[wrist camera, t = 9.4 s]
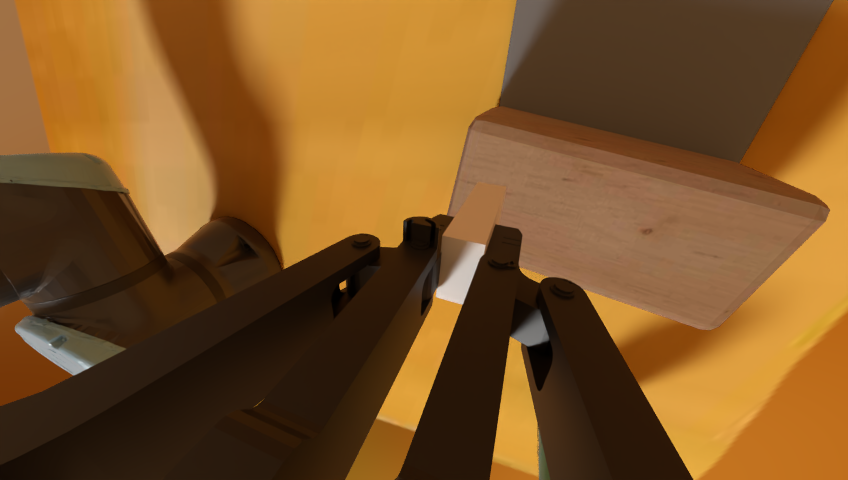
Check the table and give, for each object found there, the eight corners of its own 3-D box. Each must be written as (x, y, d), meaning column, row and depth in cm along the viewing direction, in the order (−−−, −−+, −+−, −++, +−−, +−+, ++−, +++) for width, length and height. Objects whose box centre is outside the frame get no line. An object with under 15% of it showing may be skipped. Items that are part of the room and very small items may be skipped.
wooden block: (469, 112, 19) (854, 208, 15) (492, 102, 27) (743, 162, 23) (437, 243, 24) (716, 341, 20) (465, 201, 32) (665, 264, 28)
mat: (478, 230, 34) (478, 231, 33) (521, -23, 23) (520, -25, 23) (674, 270, 29) (676, 272, 28) (846, -31, 18) (851, -32, 18)
